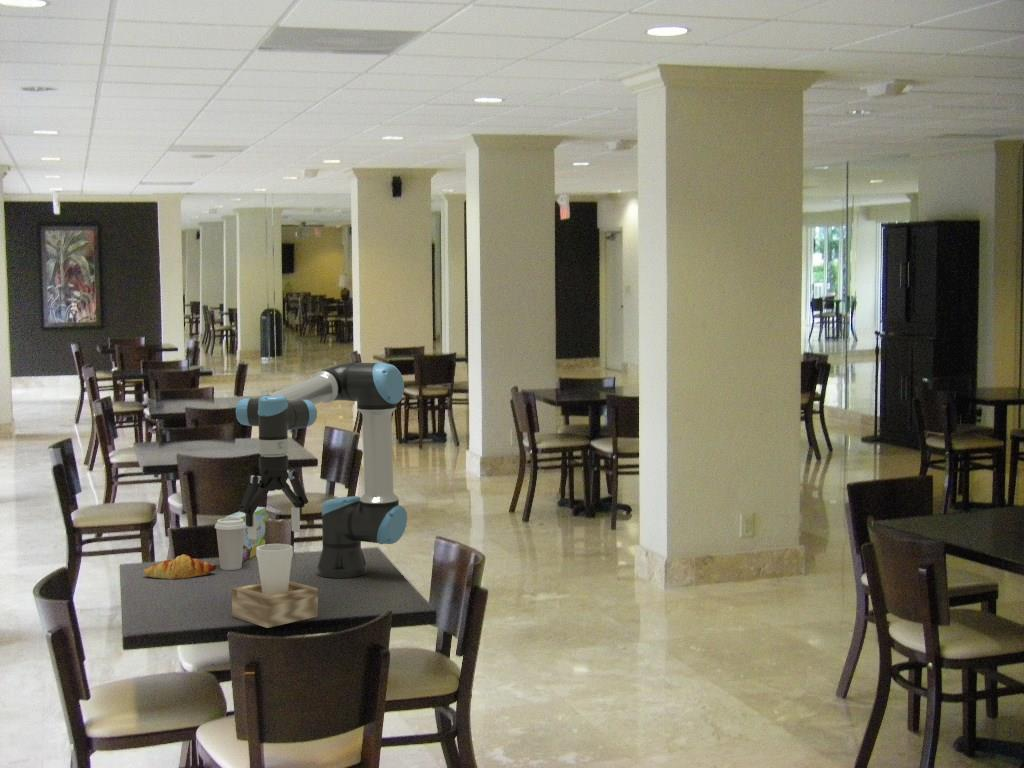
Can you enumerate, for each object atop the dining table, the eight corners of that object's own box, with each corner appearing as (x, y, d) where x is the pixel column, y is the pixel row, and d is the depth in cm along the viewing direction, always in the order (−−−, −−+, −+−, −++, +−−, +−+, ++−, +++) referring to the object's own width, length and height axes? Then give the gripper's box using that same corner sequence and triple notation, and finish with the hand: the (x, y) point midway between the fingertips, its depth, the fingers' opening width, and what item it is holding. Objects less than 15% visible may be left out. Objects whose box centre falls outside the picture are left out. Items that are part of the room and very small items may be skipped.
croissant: (143, 591, 368) (142, 571, 364) (144, 569, 376) (142, 549, 372) (216, 586, 373) (216, 565, 369) (215, 564, 381) (215, 544, 377)
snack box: (240, 564, 388) (239, 517, 387) (223, 564, 389) (222, 516, 388) (266, 551, 409) (266, 506, 408) (250, 550, 410) (250, 505, 409)
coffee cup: (250, 564, 388) (250, 517, 387) (240, 571, 378) (240, 523, 377) (221, 564, 389) (220, 517, 388) (210, 570, 379) (210, 522, 378)
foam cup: (258, 601, 320) (257, 551, 319) (255, 593, 329) (254, 544, 328) (295, 598, 323) (294, 549, 322) (291, 590, 331) (290, 542, 330)
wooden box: (282, 605, 337) (282, 578, 337) (317, 616, 326) (317, 588, 326) (232, 616, 326) (231, 588, 325) (267, 628, 315) (266, 599, 314)
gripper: (240, 460, 311) (242, 543, 313) (320, 451, 329) (321, 530, 331) (224, 458, 317) (225, 539, 318) (303, 449, 335) (304, 526, 336)
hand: (274, 535), depth 325 cm, fingers open, 13 cm apart
